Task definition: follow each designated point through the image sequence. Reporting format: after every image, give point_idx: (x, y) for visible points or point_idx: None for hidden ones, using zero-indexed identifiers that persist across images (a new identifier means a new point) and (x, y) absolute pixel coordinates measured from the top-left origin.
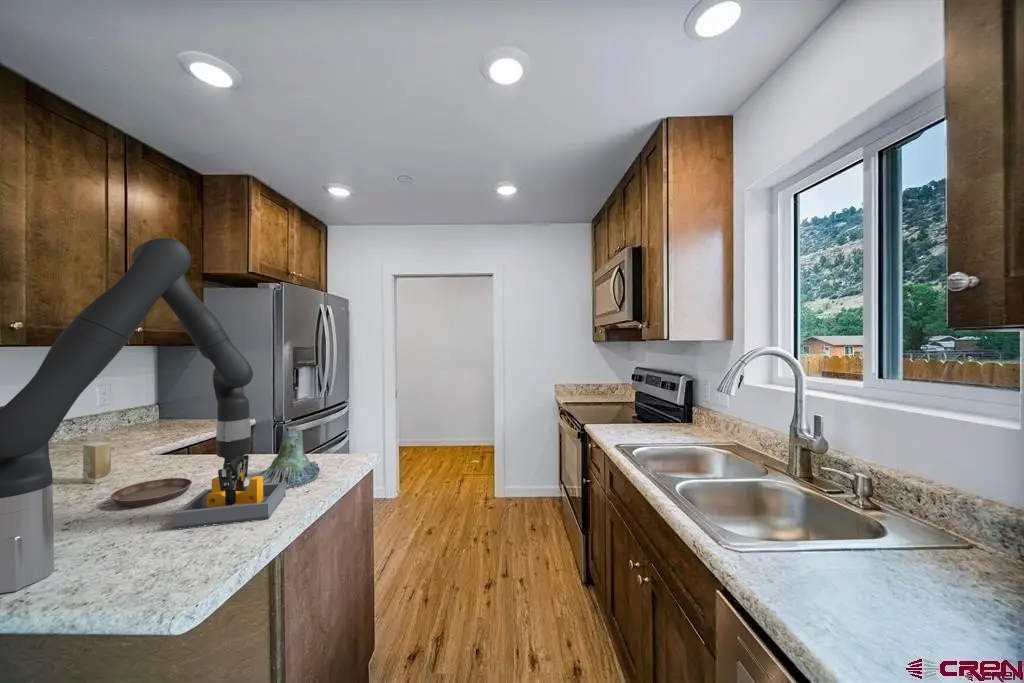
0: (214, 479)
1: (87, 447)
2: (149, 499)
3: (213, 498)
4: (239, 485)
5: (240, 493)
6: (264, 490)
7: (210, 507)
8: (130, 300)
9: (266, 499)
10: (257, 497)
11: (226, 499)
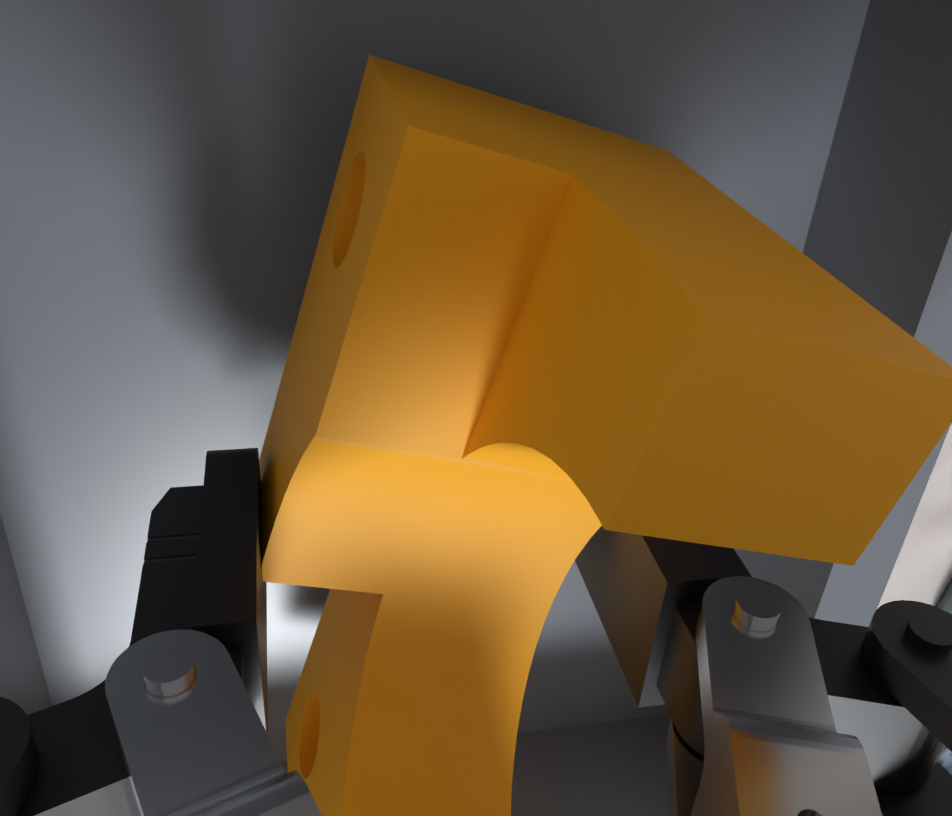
0: (666, 406)
1: None
2: None
3: (347, 252)
4: (634, 629)
5: (379, 661)
6: None
7: (595, 6)
8: None
9: (593, 644)
10: None
11: (146, 552)
